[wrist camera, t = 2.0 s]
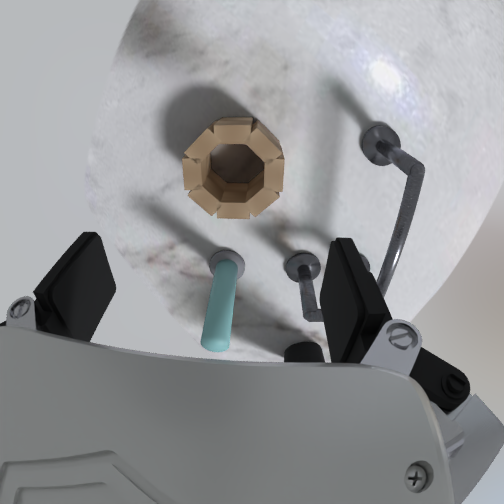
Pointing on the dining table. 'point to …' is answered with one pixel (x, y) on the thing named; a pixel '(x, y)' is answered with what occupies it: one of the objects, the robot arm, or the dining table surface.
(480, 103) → the dining table surface
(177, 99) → the dining table surface
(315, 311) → the corner grab bar
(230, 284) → the peg
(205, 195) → the ring
